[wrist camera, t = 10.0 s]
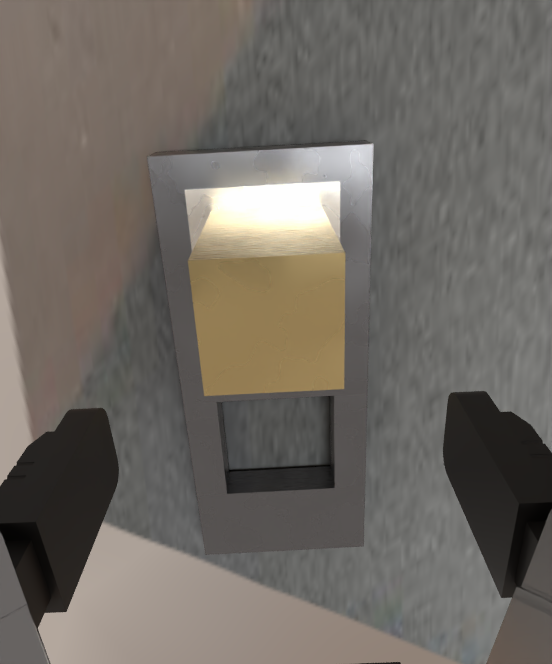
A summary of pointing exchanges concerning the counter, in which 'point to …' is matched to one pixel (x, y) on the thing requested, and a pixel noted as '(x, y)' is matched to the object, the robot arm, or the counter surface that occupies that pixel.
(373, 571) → the counter surface
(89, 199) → the counter surface
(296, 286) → the yellow wooden block
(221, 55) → the counter surface
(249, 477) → the grey slotted holder
